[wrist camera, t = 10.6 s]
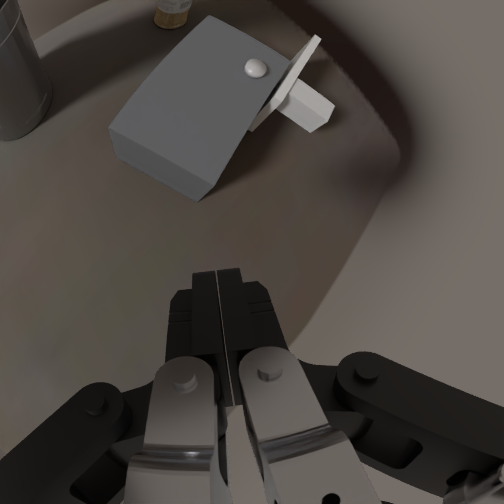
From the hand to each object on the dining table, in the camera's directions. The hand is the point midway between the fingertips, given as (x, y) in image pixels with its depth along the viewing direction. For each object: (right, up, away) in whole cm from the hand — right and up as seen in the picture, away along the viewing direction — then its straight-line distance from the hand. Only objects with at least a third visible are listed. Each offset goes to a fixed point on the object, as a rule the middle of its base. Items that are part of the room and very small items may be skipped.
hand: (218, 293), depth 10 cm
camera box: (-5, +16, +20) cm, 26 cm away
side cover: (+5, +19, +24) cm, 31 cm away
